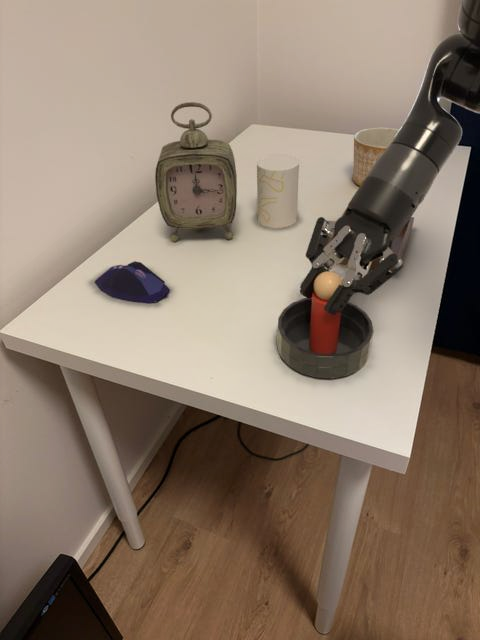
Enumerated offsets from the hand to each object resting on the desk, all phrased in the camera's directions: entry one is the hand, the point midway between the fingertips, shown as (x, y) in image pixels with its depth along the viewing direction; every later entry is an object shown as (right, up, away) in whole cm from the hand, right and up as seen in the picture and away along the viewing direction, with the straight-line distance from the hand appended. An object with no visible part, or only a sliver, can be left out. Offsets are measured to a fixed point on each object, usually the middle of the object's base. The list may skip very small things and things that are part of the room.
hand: (316, 303), depth 63 cm
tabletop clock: (-18, +15, +34) cm, 41 cm away
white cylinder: (-2, +19, +38) cm, 42 cm away
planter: (+22, +30, +50) cm, 62 cm away
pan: (+2, -6, +7) cm, 9 cm away
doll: (+2, -6, +6) cm, 9 cm away
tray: (+14, +12, +28) cm, 34 cm away
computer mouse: (-28, +4, +21) cm, 35 cm away
